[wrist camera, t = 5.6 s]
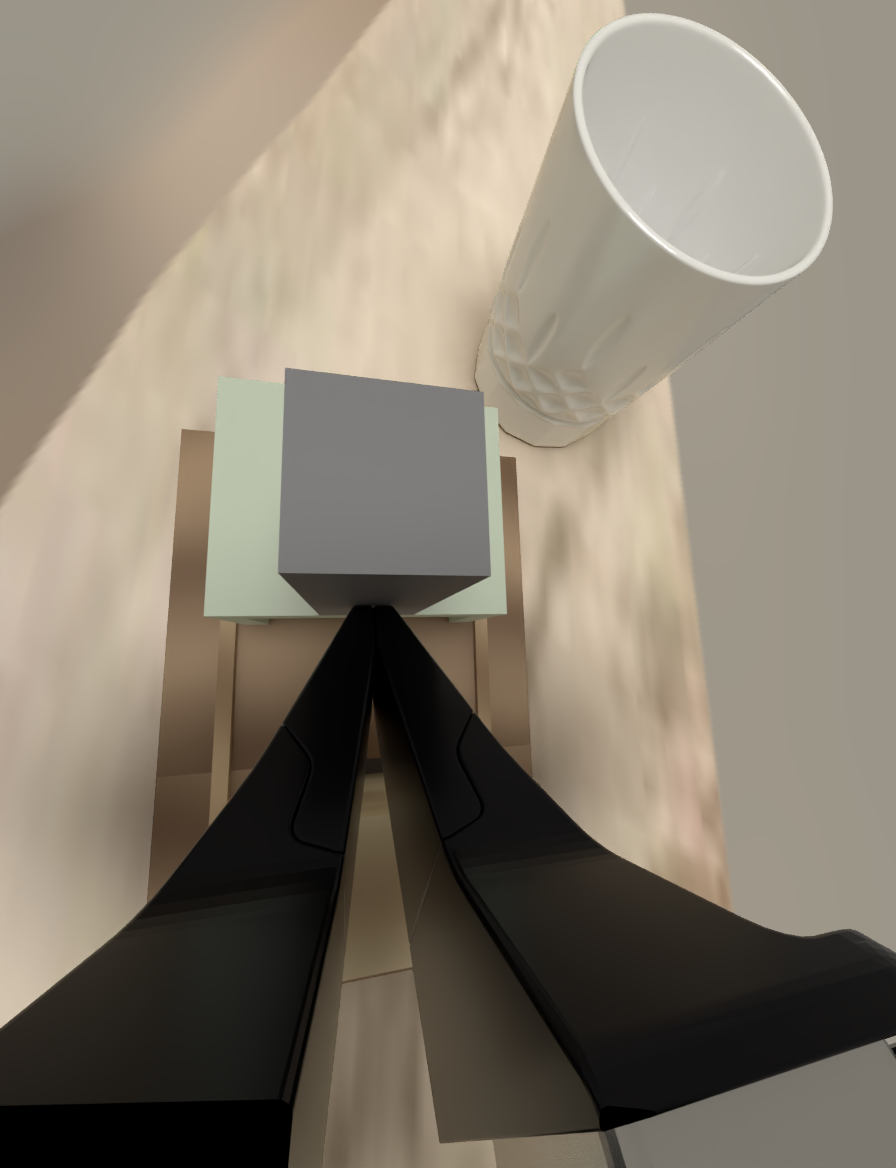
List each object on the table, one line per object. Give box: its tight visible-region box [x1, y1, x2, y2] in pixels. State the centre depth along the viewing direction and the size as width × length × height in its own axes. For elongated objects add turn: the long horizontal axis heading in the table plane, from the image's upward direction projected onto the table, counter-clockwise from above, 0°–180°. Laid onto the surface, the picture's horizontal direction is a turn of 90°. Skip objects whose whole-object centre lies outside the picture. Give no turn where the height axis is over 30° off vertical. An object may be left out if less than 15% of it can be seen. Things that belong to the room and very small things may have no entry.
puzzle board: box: [147, 429, 532, 984], centre depth 15 cm, size 19×13×1 cm
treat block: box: [342, 773, 413, 981], centre depth 13 cm, size 4×4×4 cm
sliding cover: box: [204, 368, 507, 625], centre depth 10 cm, size 6×8×11 cm
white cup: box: [475, 13, 833, 447], centre depth 15 cm, size 8×8×10 cm
